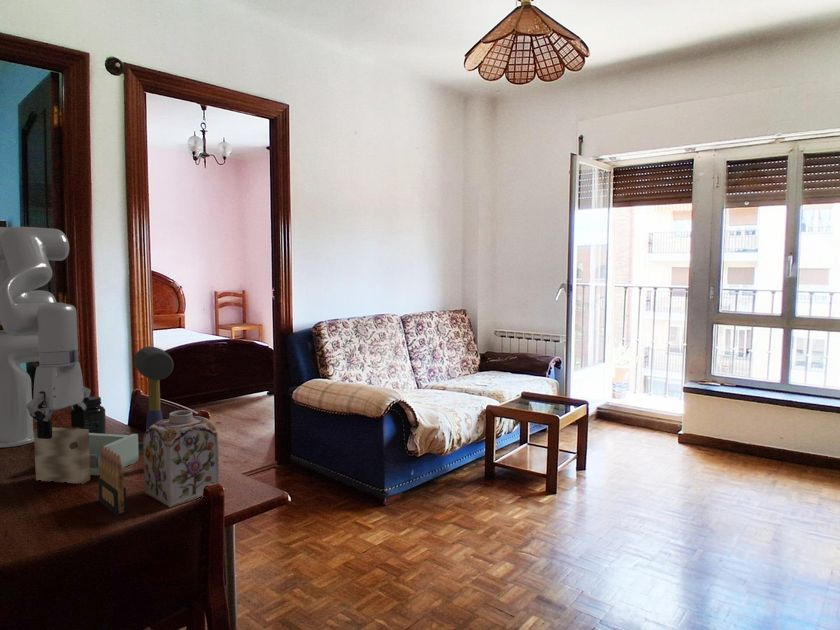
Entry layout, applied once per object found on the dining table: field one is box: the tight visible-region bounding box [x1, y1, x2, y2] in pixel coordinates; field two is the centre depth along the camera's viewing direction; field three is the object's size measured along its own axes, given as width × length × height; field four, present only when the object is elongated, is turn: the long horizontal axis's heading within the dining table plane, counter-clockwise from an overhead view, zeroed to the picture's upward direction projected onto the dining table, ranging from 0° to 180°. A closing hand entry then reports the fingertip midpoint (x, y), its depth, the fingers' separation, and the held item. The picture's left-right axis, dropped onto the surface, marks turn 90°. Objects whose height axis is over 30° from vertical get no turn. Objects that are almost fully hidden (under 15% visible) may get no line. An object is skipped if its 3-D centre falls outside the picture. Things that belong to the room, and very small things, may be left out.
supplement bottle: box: [77, 396, 107, 434], centre depth 159 cm, size 7×7×12 cm
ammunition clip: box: [97, 445, 128, 516], centre depth 114 cm, size 11×2×12 cm, turn 47°
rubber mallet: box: [133, 346, 174, 432], centre depth 136 cm, size 12×8×30 cm, turn 37°
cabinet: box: [89, 433, 140, 476], centre depth 138 cm, size 17×11×7 cm, turn 81°
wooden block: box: [33, 426, 91, 485], centre depth 128 cm, size 12×3×12 cm, turn 81°
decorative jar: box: [142, 409, 220, 508], centre depth 121 cm, size 12×12×18 cm
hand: (62, 432), depth 127 cm, fingers open, 9 cm apart
